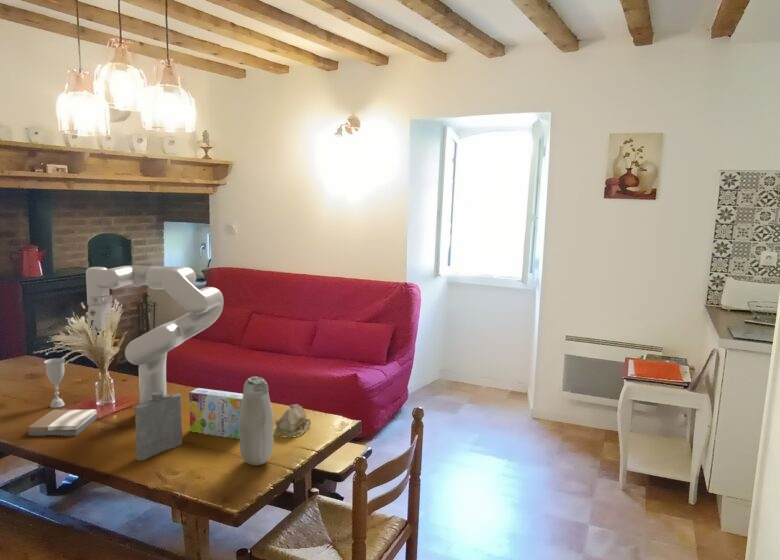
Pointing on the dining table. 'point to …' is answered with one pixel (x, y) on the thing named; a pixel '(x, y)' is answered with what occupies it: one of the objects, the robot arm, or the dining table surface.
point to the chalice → (55, 377)
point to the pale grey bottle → (256, 422)
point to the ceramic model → (292, 422)
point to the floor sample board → (65, 432)
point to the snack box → (215, 412)
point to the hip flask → (158, 424)
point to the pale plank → (72, 420)
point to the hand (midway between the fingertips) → (100, 347)
